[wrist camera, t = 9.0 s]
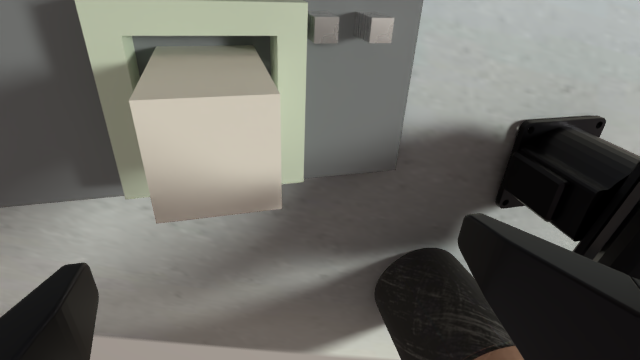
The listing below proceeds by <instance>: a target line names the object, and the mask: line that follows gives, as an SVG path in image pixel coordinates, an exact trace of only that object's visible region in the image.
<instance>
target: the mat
mask: <svg viewBox="0 0 640 360" xmlns="http://www.w3.org/2000/svg"><path fill="white" fill-rule="evenodd" d="M303 1H305V2H307V3H308V11H327V12H329V13H331V14H333V15H336V16H338V17H339V30H338V43H327V44H314V43H313V42H312V41H310V40H309V39H308V38H307V62H306V102H305V141H304V179H306V178H317V177H327V176H338V175H348V174H359V173H369V172H380V171H390V170H395V169H396V163H397V157H398V151H399V145H400V139H401V133H402V127H403V121H404V115H405V109H406V102H407V96H408V90H409V84H410V78H411V72H412V66H413V60H414V54H415V48H416V42H417V36H418V29H419V23H420V17H421V11H422V5H423V0H303ZM355 12H378V13H381V14H384V15H387V16H390V17H393V18H394V26H393V33H392V41H391V43H368V42H366V41H364V40H362V39H360V38H359V37H357V36H355V35H354V24H355ZM132 39H133V44H134V49H135V54H136V59H137V64H138V69H139V75H140V77H141V75H142V73H143V72H144V70H145V68H146V66H147V64H148V62H149V60H150V58H151V56H152V54H153V52H154V50H155V48H156V46H233V45H253V46H254V48H255V49H256V51H257V53H258V55H259V57H260V58H261V60H262V62H263V64H264V66H265V67H266V69H267V71H268V73H269V75H270V76H271V58H270V36H132ZM116 196H125V195H124V192H123V188H122V184H121V180H120V176H119V172H118V168H117V164H116V160H115V156H114V153H113V149H112V145H111V141H110V137H109V133H108V129H107V125H106V121H105V117H104V114H103V110H102V106H101V102H100V98H99V94H98V90H97V86H96V82H95V79H94V75H93V71H92V67H91V63H90V59H89V55H88V51H87V47H86V43H85V40H84V36H83V32H82V28H81V24H80V20H79V16H78V12H77V8H76V4H75V1H74V0H0V207H10V206H21V205H31V204H42V203H52V202H63V201H74V200H84V199H95V198H105V197H116Z"/></svg>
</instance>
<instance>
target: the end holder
mask: <svg viewBox="0 0 640 360" xmlns="http://www.w3.org/2000/svg"><path fill="white" fill-rule="evenodd" d="M74 1H75V4H76V8H77V12H78V16H79V20H80V24H81V28H82V32H83V36H84V40H85V43H86V47H87V51H88V55H89V59H90V63H91V67H92V71H93V75H94V79H95V82H96V86H97V90H98V94H99V98H100V102H101V106H102V110H103V114H104V117H105V121H106V125H107V129H108V133H109V137H110V141H111V145H112V149H113V153H114V156H115V160H116V164H117V168H118V172H119V176H120V180H121V184H122V188H123V192H124V195H125V199H134V198H144V197H150V193H149V188H148V184H147V179H146V175H145V170H144V166H143V162H142V157H141V153H140V148H139V144H138V139H137V135H136V130H135V126H134V121H133V117H132V112H131V108H130V104H129V99H130V97H131V95H132V93H133V91H134V89H135V87H136V85H137V83H138V81H139V79H140V75H139V69H138V64H137V59H136V54H135V49H134V44H133V39H132V36H270V58H271V78H272V80H273V82H274V84H275V85H276V87H277V89H278V91H279V93H280V112H281V177H282V184H289V183H299V182H303V181H304V141H305V102H306V62H307V22H308V3H307V2H305V1H303V0H74Z"/></svg>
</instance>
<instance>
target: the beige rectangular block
mask: <svg viewBox="0 0 640 360" xmlns="http://www.w3.org/2000/svg"><path fill="white" fill-rule="evenodd" d="M129 104H130V108H131V112H132V117H133V121H134V126H135V130H136V135H137V139H138V144H139V148H140V153H141V157H142V162H143V166H144V170H145V175H146V179H147V184H148V188H149V193H150V197H151V202H152V206H153V211H154V215H155V220H156V224H157V223H165V222H174V221H182V220H191V219H199V218H208V217H216V216H225V215H233V214H242V213H250V212H258V211H267V210H275V209H282V177H281V112H280V93H279V91H278V89H277V87H276V85H275V84H274V82H273V80H272V78H271V76H270V75H269V73H268V71H267V69H266V67H265V66H264V64H263V62H262V60H261V58H260V57H259V55H258V53H257V51H256V49H255V48H254V46H253V45H233V46H156V48H155V50H154V52H153V54H152V56H151V58H150V60H149V62H148V64H147V66H146V68H145V70H144V72H143V73H142V75H141V77H140V79H139V81H138V83H137V85H136V87H135V89H134V91H133V93H132V95H131V97H130V99H129Z"/></svg>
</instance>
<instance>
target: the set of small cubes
mask: <svg viewBox="0 0 640 360" xmlns="http://www.w3.org/2000/svg"><path fill="white" fill-rule="evenodd" d="M393 26H394V18H393V17H390V16H387V15H384V14H381V13H378V12H355V24H354V35H355V36H357V37H359V38H360V39H362V40H364V41H366V42H368V43H391V41H392V33H393ZM338 30H339V17H338V16H336V15H333V14H331V13H329V12H327V11H308V22H307V38H308V39H309V40H310V41H312V42H313V43H314V44H327V43H338Z"/></svg>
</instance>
